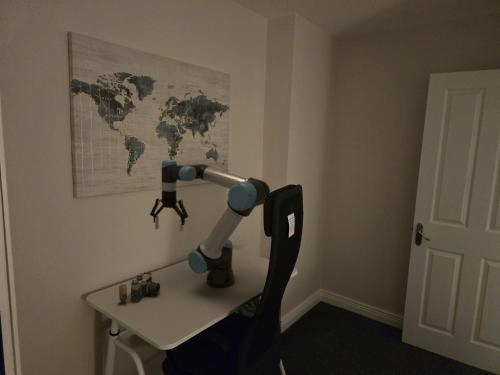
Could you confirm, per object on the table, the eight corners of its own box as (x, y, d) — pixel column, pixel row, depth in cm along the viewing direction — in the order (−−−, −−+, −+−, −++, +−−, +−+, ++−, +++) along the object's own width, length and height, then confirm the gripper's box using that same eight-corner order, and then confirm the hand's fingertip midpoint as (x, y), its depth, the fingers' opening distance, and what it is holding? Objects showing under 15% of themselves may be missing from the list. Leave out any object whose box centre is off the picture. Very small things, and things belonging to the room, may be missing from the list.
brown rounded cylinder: (128, 301, 150) (128, 285, 149) (124, 304, 147) (124, 288, 146) (121, 300, 151) (121, 284, 150) (118, 304, 148) (117, 287, 147)
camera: (149, 304, 149) (149, 283, 148) (129, 302, 150) (128, 281, 149) (164, 289, 164) (163, 270, 163) (145, 287, 166) (144, 268, 164)
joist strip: (143, 288, 164) (143, 288, 164) (125, 305, 147) (125, 305, 147) (136, 288, 164) (136, 287, 164) (117, 304, 148) (117, 304, 148)
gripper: (194, 190, 172) (194, 229, 175) (149, 187, 176) (149, 226, 179) (189, 192, 165) (189, 233, 168) (143, 189, 169) (143, 229, 172)
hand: (169, 229), depth 173 cm, fingers open, 13 cm apart
